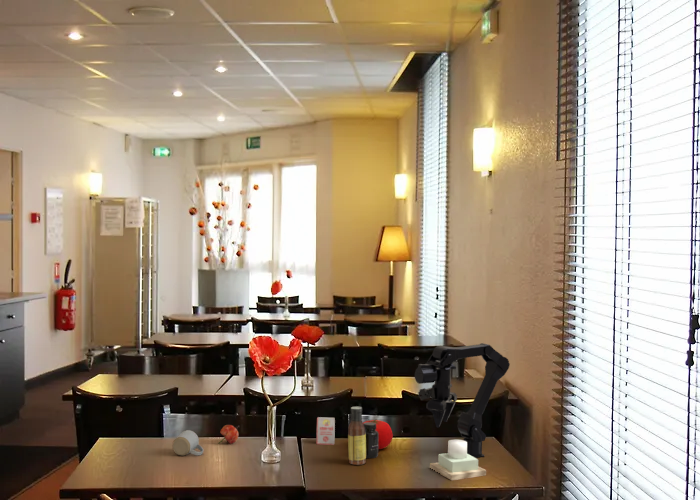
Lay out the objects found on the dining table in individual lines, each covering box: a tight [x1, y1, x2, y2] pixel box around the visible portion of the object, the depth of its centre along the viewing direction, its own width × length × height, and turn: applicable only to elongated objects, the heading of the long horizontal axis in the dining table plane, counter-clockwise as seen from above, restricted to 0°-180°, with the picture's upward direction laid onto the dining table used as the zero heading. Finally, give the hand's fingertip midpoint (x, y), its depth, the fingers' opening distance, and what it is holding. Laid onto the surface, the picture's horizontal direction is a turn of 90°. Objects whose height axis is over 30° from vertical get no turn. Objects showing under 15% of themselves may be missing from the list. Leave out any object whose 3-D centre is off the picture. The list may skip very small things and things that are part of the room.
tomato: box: [362, 419, 394, 450], centre depth 301 cm, size 14×13×10 cm
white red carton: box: [315, 416, 336, 446], centre depth 306 cm, size 4×7×10 cm, turn 88°
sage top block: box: [437, 452, 479, 473], centre depth 274 cm, size 10×10×4 cm
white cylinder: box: [447, 439, 467, 459], centre depth 274 cm, size 6×6×5 cm
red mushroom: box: [217, 424, 240, 445], centre depth 304 cm, size 7×7×10 cm
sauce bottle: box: [347, 406, 367, 466], centre depth 281 cm, size 7×6×20 cm
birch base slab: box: [429, 461, 487, 481], centre depth 274 cm, size 14×14×2 cm
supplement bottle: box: [363, 422, 379, 459], centre depth 290 cm, size 7×7×12 cm
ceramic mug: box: [172, 429, 204, 457], centre depth 289 cm, size 11×8×8 cm
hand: (441, 424), depth 287 cm, fingers open, 9 cm apart
